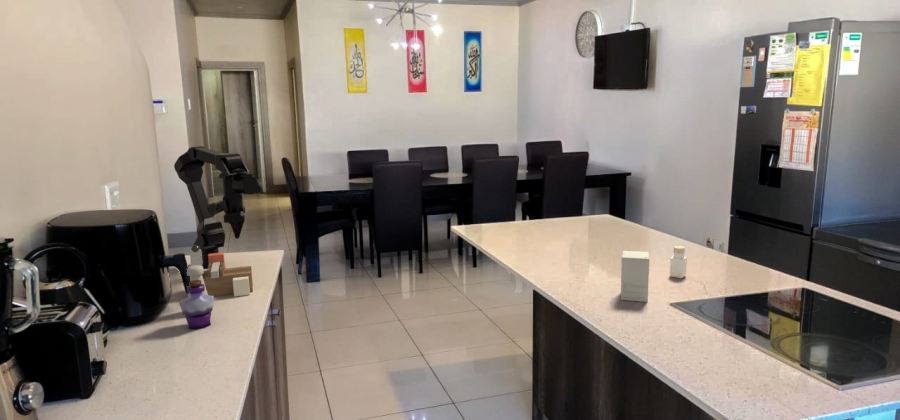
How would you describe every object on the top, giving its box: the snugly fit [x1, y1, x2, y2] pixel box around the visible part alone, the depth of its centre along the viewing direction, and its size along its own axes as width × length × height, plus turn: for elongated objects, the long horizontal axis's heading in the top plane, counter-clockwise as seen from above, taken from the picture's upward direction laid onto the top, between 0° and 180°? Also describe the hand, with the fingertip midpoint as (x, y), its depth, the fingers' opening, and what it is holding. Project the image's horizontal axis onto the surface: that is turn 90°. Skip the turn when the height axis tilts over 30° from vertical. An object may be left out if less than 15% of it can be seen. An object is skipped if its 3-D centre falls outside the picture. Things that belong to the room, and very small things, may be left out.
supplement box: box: [620, 250, 650, 303], centre depth 163 cm, size 7×7×13 cm
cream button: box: [233, 276, 251, 297], centre depth 173 cm, size 2×4×5 cm, turn 108°
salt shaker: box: [186, 265, 208, 298], centre depth 159 cm, size 6×6×13 cm
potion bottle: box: [179, 280, 215, 331], centre depth 149 cm, size 9×9×12 cm
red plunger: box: [208, 252, 226, 278], centre depth 175 cm, size 13×4×6 cm, turn 18°
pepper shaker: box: [669, 245, 688, 279], centre depth 181 cm, size 4×4×10 cm
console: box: [203, 262, 254, 297], centre depth 176 cm, size 8×18×8 cm, turn 108°
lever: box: [189, 244, 203, 277], centre depth 171 cm, size 2×3×10 cm
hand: (237, 238), depth 193 cm, fingers closed
